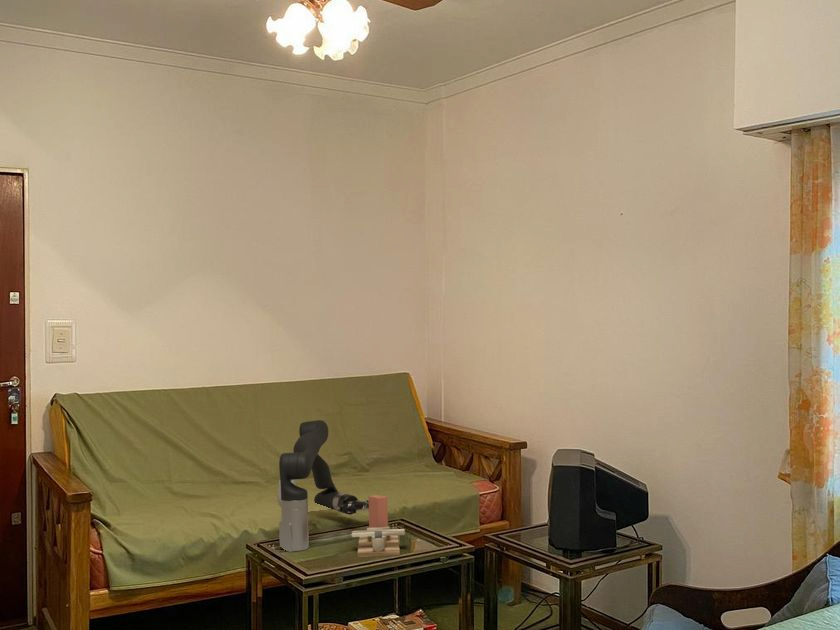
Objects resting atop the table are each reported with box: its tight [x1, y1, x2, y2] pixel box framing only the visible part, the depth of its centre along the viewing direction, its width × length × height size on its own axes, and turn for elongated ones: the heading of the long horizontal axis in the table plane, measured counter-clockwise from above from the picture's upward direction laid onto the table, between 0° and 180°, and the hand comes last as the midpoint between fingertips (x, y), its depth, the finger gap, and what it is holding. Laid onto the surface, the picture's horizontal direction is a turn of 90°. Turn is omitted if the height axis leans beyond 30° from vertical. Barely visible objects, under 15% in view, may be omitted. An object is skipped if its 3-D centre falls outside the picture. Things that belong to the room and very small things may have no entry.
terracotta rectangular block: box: [368, 494, 389, 528], centre depth 315 cm, size 7×4×14 cm, turn 33°
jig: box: [351, 526, 406, 558], centre depth 295 cm, size 28×18×7 cm, turn 3°
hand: (365, 509), depth 323 cm, fingers open, 8 cm apart
